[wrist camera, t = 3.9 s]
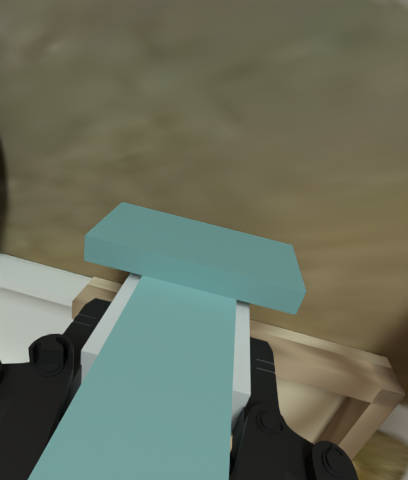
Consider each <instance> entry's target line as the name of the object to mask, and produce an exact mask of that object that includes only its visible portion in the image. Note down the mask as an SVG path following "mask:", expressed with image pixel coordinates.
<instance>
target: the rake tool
mask: <svg viewBox="0 0 408 480" xmlns="http://www.w3.org/2000/svg"><path fill="white" fill-rule="evenodd" d="M84 261H88V262H92V263H96V264H100V265H104V266H108V267H111V268H115V269H119V270H123V271H127V272H131V273H135V274H139V275H142V277H141V279H140V281H139V282H138V284H137V286H136V288H135V290H134V291H133V293H132V295H131V297H130V299H129V300H128V302H127V304H126V306H125V307H124V309H123V311H122V313H121V315H120V316H119V318H118V320H117V322H116V323H115V325H114V327H113V329H112V331H111V332H110V334H109V336H108V338H107V339H106V341H105V343H104V345H103V347H102V348H101V350H100V352H99V354H98V356H97V357H96V359H95V361H94V363H93V364H92V366H91V368H90V370H89V372H88V373H87V375H86V377H85V379H84V380H83V382H82V384H81V386H80V388H79V389H78V391H77V393H76V395H75V396H74V398H73V400H72V402H71V404H70V405H69V407H68V409H67V411H66V412H65V414H64V416H63V418H62V420H61V421H60V423H59V425H58V427H57V429H56V430H55V432H54V434H53V436H52V437H51V439H50V441H49V443H48V445H47V446H46V448H45V450H44V452H43V453H42V455H41V457H40V459H39V461H38V462H37V464H36V466H35V468H34V469H33V471H32V473H31V475H30V477H29V478H28V480H229V462H230V438H231V415H232V391H233V368H234V345H235V321H236V300H240V301H244V302H248V303H252V304H255V305H259V306H263V307H267V308H271V309H275V310H279V311H283V312H287V313H290V314H294V315H296V313H297V311H298V309H299V307H300V304H301V302H302V300H303V298H304V296H305V294H306V289H305V286H304V282H303V279H302V276H301V273H300V269H299V266H298V263H297V259H296V256H295V253H294V250H293V246H292V245H290V244H286V243H282V242H278V241H274V240H270V239H266V238H262V237H258V236H254V235H250V234H247V233H243V232H239V231H235V230H231V229H227V228H223V227H219V226H215V225H211V224H207V223H203V222H199V221H195V220H191V219H188V218H184V217H180V216H176V215H172V214H168V213H164V212H160V211H156V210H152V209H148V208H144V207H140V206H136V205H132V204H129V203H125V202H122V203H121V204H119V205H118V206H117V207H116V208H115V209H114V210H113V211H112V212H110V213H109V214H108V215H107V216H106V217H105V218H104V219H103V220H101V221H100V222H99V223H98V224H97V225H96V226H95V227H94V228H93V229H91V230H90V231H89V232H88V233H87V234H86V235H85V248H84Z"/></svg>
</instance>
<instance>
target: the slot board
mask: <svg viewBox="0 0 408 480" xmlns="http://www.w3.org/2000/svg"><path fill="white" fill-rule="evenodd" d="M122 285H123V284H119V283H116V282H112V281H108V280H105V279H101V278H98V277H93V278H92V279H91V281H90V282H89V283H88V284H87V285H86V286H85V287H84V289H83V290H82V291H81V292H80V293H79V294H78V295H77V296H76V298H75V299H74V300H73V301H72V319H74V318H75V317H76V316H77V315H78V314H79V312H80V310H81V309H82V308H83V307H84V305H85V304H86V303H88V302H90V301H91V300H93V299H94V298H98V299H102V300H106V301H110V302H112V301H113V300H114V298H115V296H116V295H117V293H118V292H119V290H120V289H121V287H122ZM249 326H250V337H252V338H256V339H260V340H264V341H268V343H269V345H270V347H271V349H272V351H273V355H274V365H275V374H276V383H277V392H278V401H279V409H280V413H281V415H282V416H283V418H284V420H285V422H286V424H287V425H288V426H289V427H290V428H291V429H292V430H293V431H294V432H295V433H297V434H298V435H300V436H301V437H303V438H305V439H306V440H308V441H309V442H311V443H313V444H314V445H315V444H316V443H317V442H319V441H330V442H332V443H334V444H336V445H337V446H339V447H340V448H341V449H342V450H344V452H345V453H346V454H347V455H348V457H349V458H350V459H351V460H352V459H353V457H354V456H355V455H356V454H357V453H358V452H359V450H360V449H361V448H362V447H363V446H364V444H365V443H366V442H367V441H368V440H369V438H370V437H371V436H372V435H373V434H374V432H375V431H376V430H377V429H378V428H379V426H380V425H381V424H382V423H383V421H384V420H385V419H386V418H387V417H388V416H389V414H390V413H391V412H392V411H393V410H394V409H395V407H396V406H397V405H398V404H399V403H400V401H401V400H402V399H403V398H404V397H405V395H406V394H405V392H404V390H403V388H402V386H401V384H400V382H399V380H398V378H397V376H396V374H395V372H394V371H393V369H392V367H391V365H390V363H389V361H388V359H387V357H384V356H380V355H377V354H373V353H370V352H366V351H362V350H359V349H355V348H351V347H348V346H344V345H340V344H337V343H333V342H330V341H326V340H322V339H319V338H315V337H311V336H308V335H304V334H301V333H297V332H293V331H290V330H286V329H282V328H279V327H275V326H272V325H268V324H264V323H261V322H257V321H253V320H250V319H249ZM231 449H232V436H231V438H230V451H231Z"/></svg>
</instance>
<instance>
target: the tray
mask: <svg viewBox="0 0 408 480" xmlns="http://www.w3.org/2000/svg"><path fill="white" fill-rule="evenodd" d="M91 279H92V278H90V277H86V276H82V275H79V274H75V273H71V272H68V271H64V270H61V269H57V268H53V267H50V266H46V265H42V264H39V263H35V262H32V261H28V260H24V259H21V258H17V257H13V256H10V255H6V254H3V253H0V360H1V362H2V364H7V363H25V362H29V351H28V348H29V346H30V345H31V344H32V343H33V342H34V341H35V340H37V339H38V338H40V337H42V336H45V335H48V334H63V333H64V332H65V330H66V329H67V328H68V326H69V325H70V324H71V322H73V320H74V319H72V301H73V300H74V299H75V298H76V296H77V295H78V294H79V293H80V292H81V291H82V290H83V289H84V287H85V286H86V285H87V284H88V283H89V282H90V281H91Z"/></svg>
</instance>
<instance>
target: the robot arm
mask: <svg viewBox="0 0 408 480" xmlns="http://www.w3.org/2000/svg"><path fill="white" fill-rule="evenodd" d="M141 277H142V275H139V274H135V273H130V274H129V276H128V278H127V279H126V281H125V282H124V284H123V285H122V287H121V289H120V290H119V292H118V293H117V295H116V296H115V298H114V300H113V301H112V302H110V301H106V300H102V299H98V298H94V299H93V300H91V301H90V302H88V303H86V304H85V305H84V307H83V308H82V309H81V310H80V312H79V314H78V315H77V316H76V317H75V318H74V320H73V322H71V324H70V325H69V326H68V328H67V329H66V330H65V332H64V333H63V334H48V335H45V336H42V337H40V338H38V339H37V340H35V341H34V342H33V343H32V344H31V345H30V346H29V348H28V351H29V362H25V363H7V364H2V362H1V360H0V480H28V478H29V477H30V475H31V473H32V471H33V469H34V468H35V466H36V464H37V462H38V461H39V459H40V457H41V455H42V453H43V452H44V450H45V448H46V446H47V445H48V443H49V441H50V439H51V437H52V436H53V434H54V432H55V430H56V429H57V427H58V425H59V423H60V421H61V420H62V418H63V416H64V414H65V412H66V411H67V409H68V407H69V405H70V404H71V402H72V400H73V398H74V396H75V395H76V393H77V391H78V389H79V388H80V386H81V384H82V382H83V380H84V379H85V377H86V375H87V373H88V372H89V370H90V368H91V366H92V364H93V363H94V361H95V359H96V357H97V356H98V354H99V352H100V350H101V348H102V347H103V345H104V343H105V341H106V339H107V338H108V336H109V334H110V332H111V331H112V329H113V327H114V325H115V323H116V322H117V320H118V318H119V316H120V315H121V313H122V311H123V309H124V307H125V306H126V304H127V302H128V300H129V299H130V297H131V295H132V293H133V291H134V290H135V288H136V286H137V284H138V282H139V281H140V279H141ZM231 436H232V449H231V451H230V462H229V480H358V477H357V474H356V470H355V468H354V466H353V463H352V461H351V459H350V458H349V457H348V455H347V454H346V453H345V452H344V450H342V449H341V448H340V447H339V446H337V445H336V444H334V443H332V442H330V441H319V442H317V443H316V444H315V445H314V444H313V443H311V442H309V441H308V440H306V439H305V438H303V437H301V436H300V435H298V434H297V433H295V432H294V431H293V430H292V429H291V428H290V427H289V426H288V425H287V424H286V422H285V420H284V418H283V416H282V415H281V413H280V409H279V401H278V392H277V383H276V374H275V365H274V355H273V351H272V349H271V347H270V345H269V343H268V341H264V340H260V339H256V338H252V337H250V326H249V303H248V302H244V301H240V300H236V321H235V345H234V368H233V391H232V415H231Z"/></svg>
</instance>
